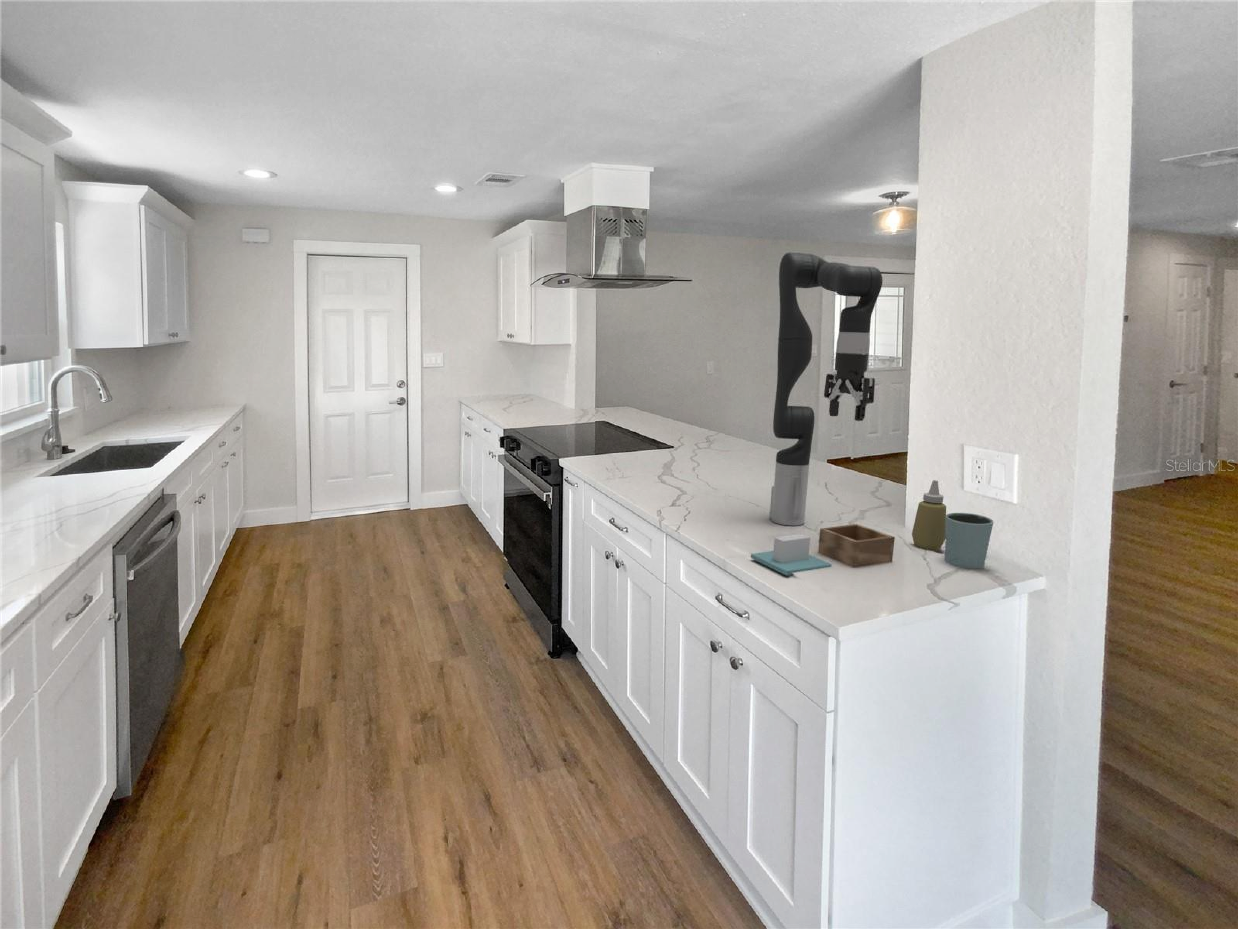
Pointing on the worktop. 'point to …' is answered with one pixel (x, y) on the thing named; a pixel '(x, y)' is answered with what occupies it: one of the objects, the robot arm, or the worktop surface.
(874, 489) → the worktop surface
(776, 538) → the lid
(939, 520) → the squeeze bottle
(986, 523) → the grey-blue cup
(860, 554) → the walnut box
